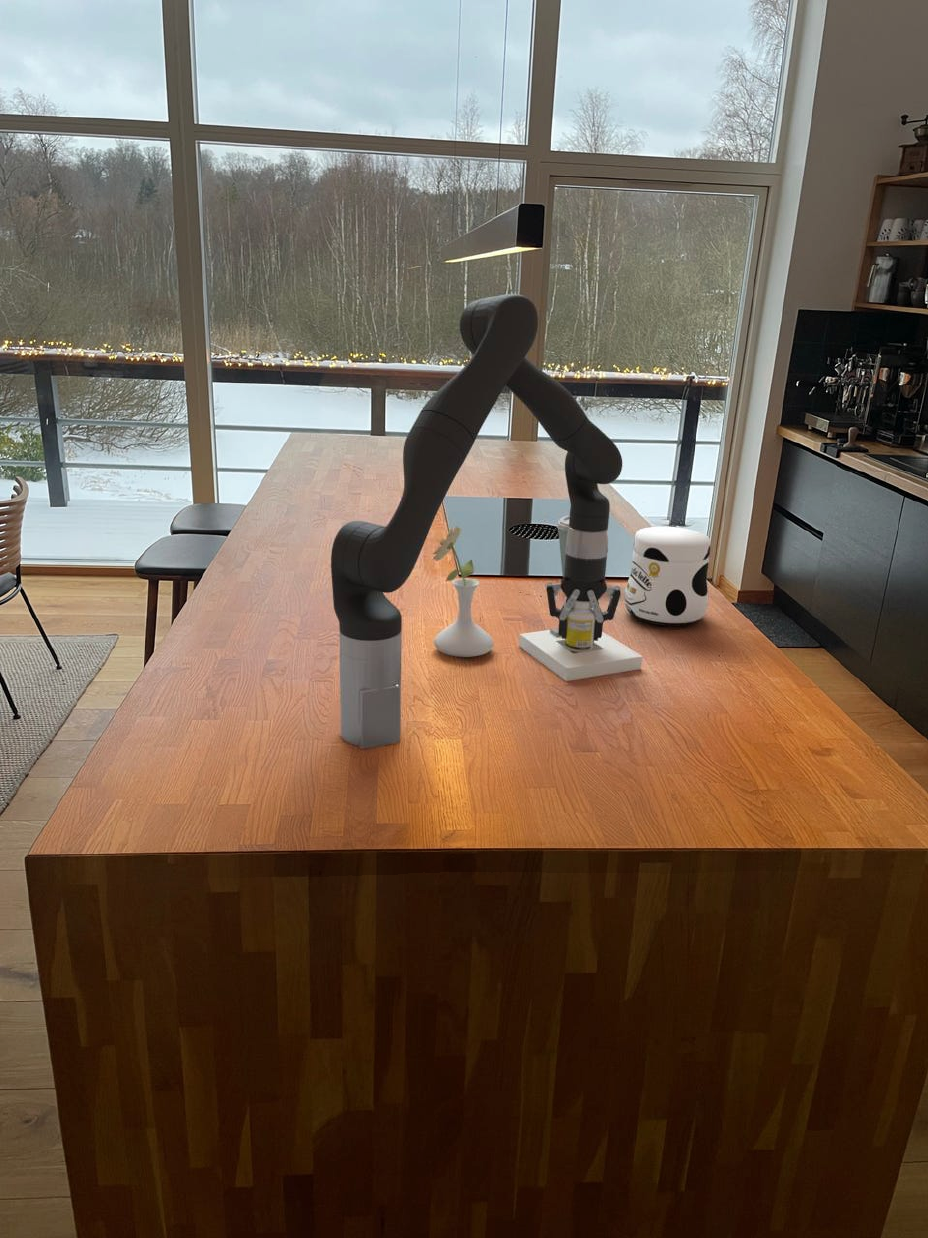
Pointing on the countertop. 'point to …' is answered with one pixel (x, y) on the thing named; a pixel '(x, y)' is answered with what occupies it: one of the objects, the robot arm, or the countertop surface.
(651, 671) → the countertop surface
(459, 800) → the countertop surface
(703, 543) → the milk container
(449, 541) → the flower in vase
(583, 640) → the supplement bottle
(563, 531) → the disposable coffee cup
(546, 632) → the socket plate
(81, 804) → the countertop surface
